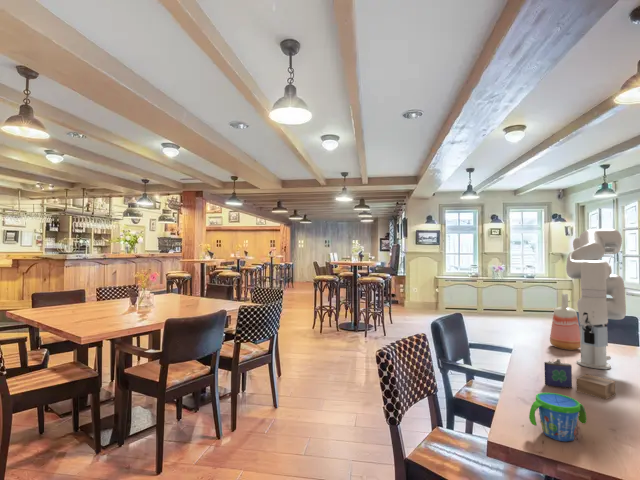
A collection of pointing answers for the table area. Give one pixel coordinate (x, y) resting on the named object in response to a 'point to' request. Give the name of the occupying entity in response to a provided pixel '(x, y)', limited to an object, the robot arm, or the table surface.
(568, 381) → the clover trinket box
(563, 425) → the snack cup
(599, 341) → the pale blue cube
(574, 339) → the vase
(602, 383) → the block
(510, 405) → the table surface
